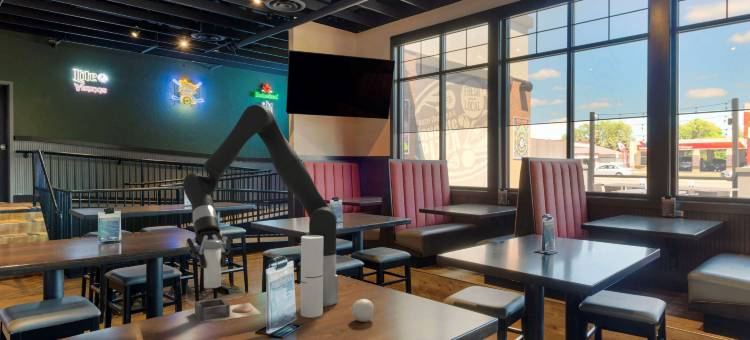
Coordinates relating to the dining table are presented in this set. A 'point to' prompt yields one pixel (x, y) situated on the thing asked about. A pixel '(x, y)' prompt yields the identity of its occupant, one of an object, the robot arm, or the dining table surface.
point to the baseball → (362, 310)
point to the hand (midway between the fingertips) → (213, 265)
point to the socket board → (221, 310)
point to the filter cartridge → (212, 263)
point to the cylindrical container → (311, 276)
